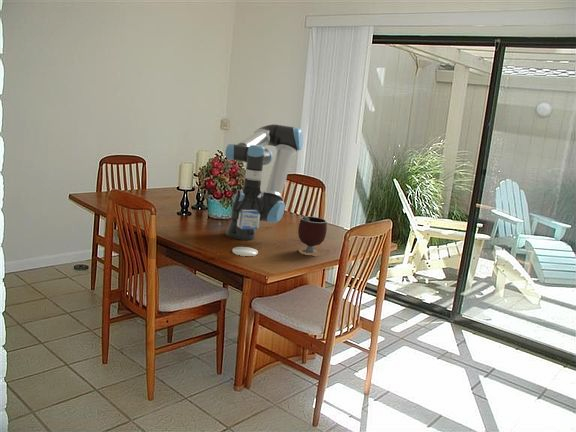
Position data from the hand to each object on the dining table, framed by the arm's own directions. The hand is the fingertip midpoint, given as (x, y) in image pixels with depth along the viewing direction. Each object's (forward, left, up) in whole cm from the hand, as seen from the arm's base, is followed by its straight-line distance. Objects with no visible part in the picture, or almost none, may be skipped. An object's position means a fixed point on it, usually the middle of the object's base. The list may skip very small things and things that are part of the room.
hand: (247, 226), depth 261 cm
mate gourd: (-33, -5, -13) cm, 36 cm away
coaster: (0, 0, -13) cm, 13 cm away
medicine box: (0, 0, -1) cm, 1 cm away
